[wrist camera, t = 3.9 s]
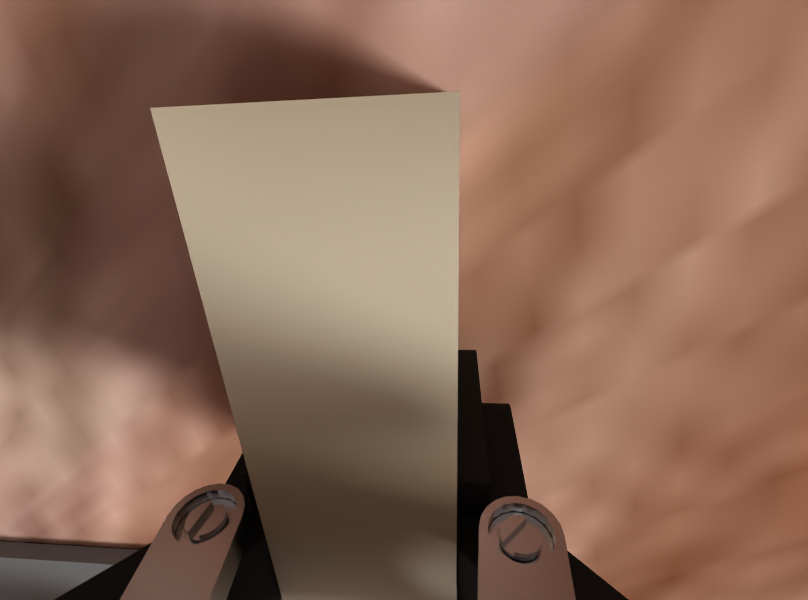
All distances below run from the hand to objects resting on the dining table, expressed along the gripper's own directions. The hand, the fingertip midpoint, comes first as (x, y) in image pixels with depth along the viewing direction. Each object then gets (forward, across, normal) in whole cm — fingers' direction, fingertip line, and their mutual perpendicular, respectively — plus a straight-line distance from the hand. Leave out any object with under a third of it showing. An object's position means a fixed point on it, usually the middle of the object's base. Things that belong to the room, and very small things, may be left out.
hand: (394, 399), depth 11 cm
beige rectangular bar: (0, 0, +2) cm, 2 cm away
